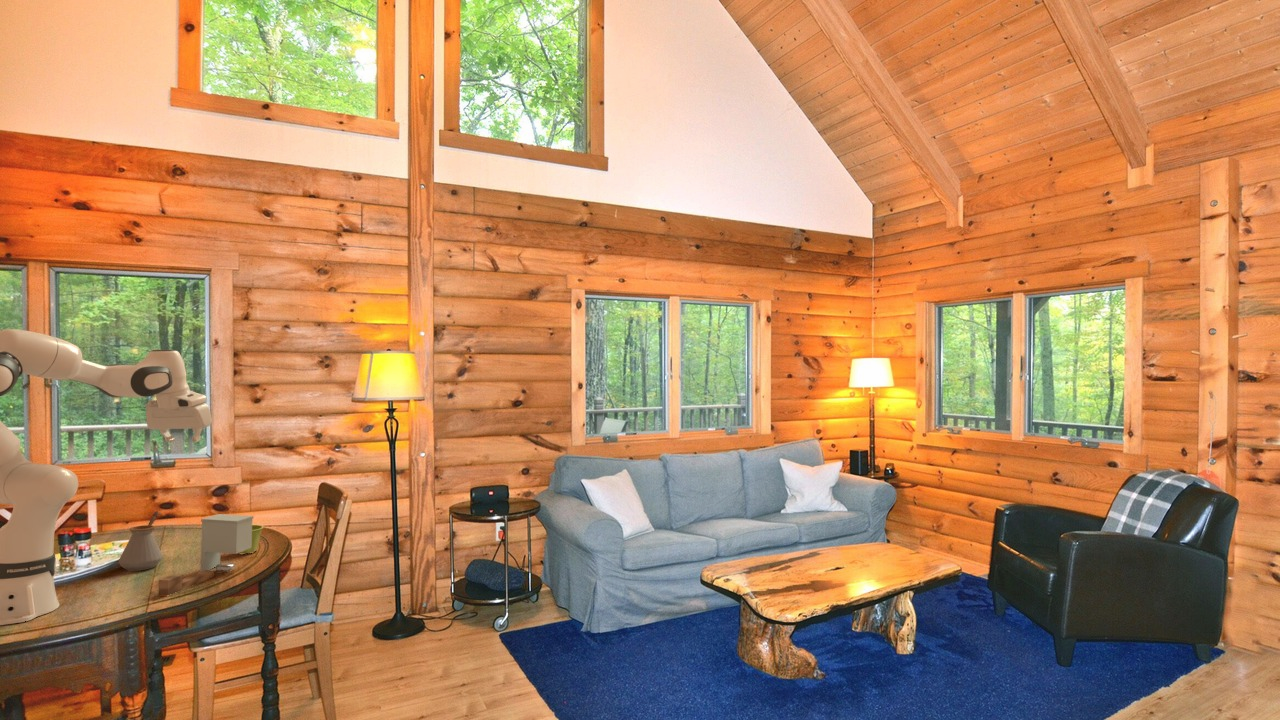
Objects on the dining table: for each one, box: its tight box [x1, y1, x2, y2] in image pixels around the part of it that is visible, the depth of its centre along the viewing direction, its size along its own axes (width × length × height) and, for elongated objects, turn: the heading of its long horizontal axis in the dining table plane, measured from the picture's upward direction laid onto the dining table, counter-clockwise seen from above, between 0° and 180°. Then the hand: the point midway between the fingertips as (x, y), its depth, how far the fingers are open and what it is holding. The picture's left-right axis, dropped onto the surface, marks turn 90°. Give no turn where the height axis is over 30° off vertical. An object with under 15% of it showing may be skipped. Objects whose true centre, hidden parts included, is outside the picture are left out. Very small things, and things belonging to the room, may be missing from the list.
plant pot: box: [239, 524, 264, 554], centre depth 234 cm, size 9×9×9 cm
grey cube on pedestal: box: [199, 513, 254, 573], centre depth 214 cm, size 7×12×17 cm, turn 84°
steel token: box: [215, 562, 235, 573], centre depth 213 cm, size 5×5×2 cm
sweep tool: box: [157, 569, 215, 596], centre depth 198 cm, size 18×3×4 cm, turn 174°
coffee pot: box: [118, 511, 164, 572], centre depth 219 cm, size 21×12×15 cm, turn 21°
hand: (183, 441), depth 211 cm, fingers open, 8 cm apart
